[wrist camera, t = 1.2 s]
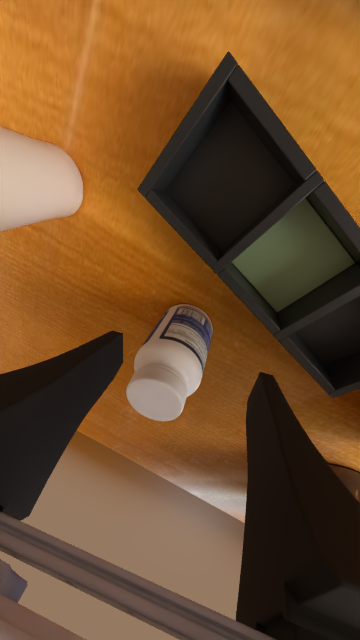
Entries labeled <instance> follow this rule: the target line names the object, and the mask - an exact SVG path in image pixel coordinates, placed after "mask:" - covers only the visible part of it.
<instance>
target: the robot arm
mask: <svg viewBox="0 0 360 640" xmlns="http://www.w3.org/2000/svg"><path fill="white" fill-rule="evenodd" d="M122 363H123V333H120V332H116V331H110V332H108V333H106V334H104V335H102V336H100V337H98V338H96V339H94V340H92V341H90V342H88V343H85V344H83V345H81V346H79V347H77V348H75V349H73V350H70V351H68V352H66V353H63V354H61V355H59V356H56V357H54V358H51V359H48V360H46V361H43V362H40V363H37V364H34V365H31V366H28V367H25V368H21V369H18V370H14V371H11V372H7V373H4V374H0V551H2V552H4V553H6V554H8V555H10V556H12V557H14V558H16V559H19V560H20V561H22V562H24V563H26V564H28V565H30V566H32V567H34V568H36V569H38V570H40V571H42V572H44V573H47V574H49V575H51V576H53V577H55V578H57V579H59V580H61V581H63V582H65V583H67V584H69V585H71V586H73V587H75V588H77V589H79V590H81V591H83V592H85V593H87V594H89V595H91V596H93V597H95V598H97V599H99V600H101V601H103V602H105V603H107V604H109V605H111V606H113V607H115V608H117V609H119V610H121V611H123V612H125V613H127V614H129V615H131V616H133V617H135V618H137V619H139V620H141V621H143V622H145V623H147V624H149V625H151V626H153V627H155V628H157V629H159V630H161V631H164V632H165V633H168V634H169V635H172V636H174V637H176V638H178V639H180V640H360V502H359V501H358V500H357V499H356V498H355V497H354V496H353V494H352V493H351V492H350V491H349V490H348V488H347V487H346V486H345V485H344V484H343V482H342V481H341V480H340V479H339V477H338V476H337V475H336V474H335V473H334V471H333V470H332V469H331V467H330V466H329V465H328V464H327V462H326V461H325V460H324V458H323V457H322V455H321V454H320V453H319V451H318V450H317V449H316V447H315V446H314V444H313V443H312V442H311V440H310V439H309V437H308V436H307V434H306V432H305V431H304V429H303V428H302V426H301V425H300V423H299V421H298V420H297V418H296V416H295V415H294V413H293V411H292V409H291V408H290V406H289V404H288V402H287V400H286V399H285V397H284V395H283V393H282V391H281V389H280V387H279V385H278V383H277V382H276V380H275V378H274V376H273V375H270V374H266V373H263V372H260V373H259V376H258V378H257V380H256V382H255V385H254V387H253V389H252V391H251V394H250V396H249V398H248V402H247V413H246V437H247V463H248V482H247V500H246V515H245V531H244V541H243V554H242V565H241V574H240V584H239V593H238V602H237V611H236V621H235V620H233V619H230V618H229V617H226V616H224V615H222V614H220V613H218V612H216V611H213V610H211V609H209V608H207V607H205V606H202V605H200V604H198V603H196V602H194V601H192V600H190V599H187V598H185V597H183V596H181V595H179V594H177V593H174V592H172V591H170V590H168V589H166V588H163V587H162V586H159V585H157V584H155V583H153V582H151V581H149V580H146V579H144V578H142V577H140V576H138V575H136V574H133V573H131V572H129V571H127V570H125V569H123V568H120V567H118V566H116V565H114V564H112V563H110V562H107V561H105V560H103V559H101V558H99V557H97V556H94V555H92V554H90V553H88V552H86V551H84V550H82V549H79V548H77V547H75V546H72V545H71V544H69V543H66V542H64V541H62V540H60V539H58V538H56V537H54V536H51V535H49V534H47V533H45V532H43V531H41V530H38V529H36V528H34V527H32V526H30V525H27V524H25V523H23V522H21V521H20V520H23V519H24V518H26V517H28V516H29V515H30V513H31V511H32V509H33V507H34V505H35V503H36V501H37V500H38V497H39V496H40V494H41V492H42V490H43V488H44V486H45V484H46V482H47V480H48V478H49V477H50V475H51V473H52V471H53V469H54V468H55V466H56V464H57V462H58V461H59V459H60V457H61V455H62V454H63V452H64V450H65V448H66V447H67V445H68V443H69V442H70V440H71V438H72V437H73V435H74V433H75V432H76V430H77V429H78V427H79V425H80V424H81V422H82V421H83V419H84V418H85V416H86V415H87V413H88V412H89V411H90V409H91V408H92V407H93V405H94V404H95V403H96V401H97V400H98V399H99V397H100V396H101V395H102V394H103V392H104V391H105V390H106V388H107V387H108V386H109V384H110V383H111V382H112V380H113V379H114V377H115V376H116V374H117V372H118V371H119V369H120V367H121V365H122ZM26 587H27V581H26V580H24V579H23V578H22V577H20V576H19V575H18V574H17V573H16V572H14V571H13V570H12V569H11V566H10V565H9V564H7V563H5V562H4V561H2V560H0V640H86V639H84V638H82V637H80V636H79V635H77V634H75V633H73V632H71V631H69V630H67V629H65V628H64V627H62V626H60V625H58V624H56V623H54V622H52V621H50V620H49V619H47V618H45V617H43V616H41V615H39V614H37V613H35V612H33V611H31V610H30V609H28V608H26V607H24V606H22V605H20V604H18V601H19V599H20V598H21V596H22V594H23V592H24V590H25V589H26Z"/></svg>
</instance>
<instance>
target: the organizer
mask: <svg viewBox="0 0 360 640" xmlns="http://www.w3.org/2000/svg"><path fill="white" fill-rule="evenodd" d="M138 191H139V192H140V193H141V194H142V195H143V196H144V197H145V198H146V199H147V200H148V201H149V203H150V204H151V205H152V206H153V207H154V208H155V209H156V210H157V211H158V212H159V213H160V214H161V215H162V216H163V218H164V219H165V220H166V221H167V222H168V223H169V224H170V225H171V226H172V227H173V228H174V229H175V230H176V231H177V233H178V234H179V235H180V236H181V237H182V238H183V239H184V240H185V241H186V242H187V243H188V244H189V245H190V247H191V248H192V249H193V250H194V251H195V252H196V253H197V254H198V255H199V256H200V257H201V258H202V259H203V260H204V262H205V263H206V264H207V265H208V266H209V267H211V269H212V270H213V271H214V272H215V273H216V274H218V276H219V277H220V279H221V280H222V281H223V282H224V283H225V284H226V285H227V286H228V287H229V288H230V289H231V290H232V291H233V292H234V294H235V295H236V296H237V297H238V298H239V299H240V300H241V301H242V302H243V303H244V304H245V305H246V306H247V307H248V309H249V310H250V311H251V312H252V313H253V314H254V315H255V316H256V317H257V318H258V319H259V320H260V321H261V322H262V324H263V325H264V326H265V327H266V328H267V329H268V330H269V331H270V332H271V333H272V334H273V335H274V337H275V338H276V339H277V340H278V341H279V342H280V343H281V344H282V345H283V346H284V347H285V348H286V349H287V351H288V352H289V353H290V354H291V355H292V356H293V357H294V358H295V359H296V360H297V361H298V362H299V363H300V364H301V366H302V367H303V368H304V369H305V370H306V371H307V372H308V373H309V374H310V375H311V376H312V377H313V378H314V379H315V381H316V382H317V383H318V384H319V385H320V386H321V387H322V388H323V389H324V390H325V391H326V392H327V393H328V394H329V395H330V396H331V398H335V397H338V396H341V395H343V394H346V393H349V392H352V391H355V390H357V389H360V227H359V226H358V225H357V223H356V222H355V221H354V219H353V218H352V217H351V215H350V214H349V213H348V211H347V210H346V209H345V207H344V206H343V205H342V203H341V202H340V200H339V199H338V198H337V196H336V195H335V194H334V192H333V191H332V190H331V188H330V187H329V186H328V184H327V183H326V182H325V181H324V179H323V178H322V176H321V175H320V174H319V172H318V171H316V168H315V167H314V165H313V164H312V163H311V161H310V160H309V159H308V157H307V156H306V155H305V153H304V152H303V151H302V149H301V148H300V147H299V145H298V144H297V143H296V141H295V140H294V138H293V137H292V136H291V134H290V133H289V132H288V130H287V129H286V128H285V126H284V125H283V124H282V122H281V121H280V120H279V118H278V117H277V116H276V114H275V113H274V112H273V110H272V109H271V107H270V106H269V105H268V103H267V102H266V101H265V99H264V98H263V97H262V95H261V94H260V93H259V91H258V90H257V89H256V87H255V86H254V85H253V83H252V82H251V81H250V79H249V78H248V76H247V75H246V74H245V72H244V71H243V70H242V68H241V67H240V66H239V65H238V63H237V61H236V60H235V59H234V57H233V56H232V55H231V53H230V52H229V51H228V52H227V54H226V55H225V57H224V58H223V60H222V61H221V63H220V64H219V66H218V67H217V69H216V70H215V72H214V74H213V75H212V77H211V78H210V80H209V81H208V83H207V84H206V86H205V87H204V89H203V90H202V92H201V93H200V95H199V96H198V98H197V99H196V101H195V102H194V104H193V105H192V107H191V108H190V110H189V111H188V113H187V115H186V116H185V118H184V119H183V121H182V122H181V124H180V125H179V127H178V128H177V130H176V131H175V133H174V134H173V136H172V137H171V139H170V140H169V142H168V143H167V145H166V146H165V148H164V149H163V151H162V152H161V154H160V156H159V157H158V159H157V160H156V162H155V163H154V165H153V166H152V168H151V169H150V171H149V172H148V174H147V175H146V177H145V178H144V180H143V181H142V183H141V184H140V186H139V187H138Z"/></svg>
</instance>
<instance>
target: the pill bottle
mask: <svg viewBox="0 0 360 640" xmlns="http://www.w3.org/2000/svg"><path fill="white" fill-rule="evenodd" d="M212 334H213V327H212V323H211V320H210V319H209V317H208V316H207V314H206V313H205V312H204V311H202V310H201V309H199V308H198V307H196V306H193V305H189V304H179V305H175V306H173V307H171V308H170V309H168V310H167V311H166V312H165V313H164V315H163V316H162V317H161V319H160V320H159V322H158V323H157V325H156V326H155V327H154V329H153V330H152V332H151V333H150V335H149V336H148V338H147V339H146V340H145V342H144V343H143V345H142V346H141V348H140V349H139V351H138V352H137V354H136V356H135V360H134V371H135V374H134V375H133V377H132V379H131V381H130V382H129V384H128V386H127V389H126V396H127V399H128V401H129V403H130V404H131V406H132V407H133V408H134V409H135V410H136V411H137V412H139V413H140V414H141V415H143V416H145V417H147V418H150V419H152V420H156V421H170V420H173V419H175V418H177V417H178V416H179V415H180V414H181V413H182V410H183V408H184V404H185V401H186V398H187V397H188V396H190V395H191V394H193V393H194V392H195V391H196V390H197V388H198V387H199V385H200V382H201V379H202V376H203V372H204V367H205V363H206V359H207V355H208V351H209V347H210V343H211V339H212Z"/></svg>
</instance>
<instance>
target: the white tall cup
mask: <svg viewBox="0 0 360 640" xmlns="http://www.w3.org/2000/svg"><path fill="white" fill-rule="evenodd" d="M83 194H84V188H83V181H82V177H81V174H80V171H79V169H78V167H77V165H76V163H75V162H74V160H73V159H72V158H71V157H70V155H69V154H68V153H67V152H66V151H64V150H63V149H62V148H60V147H59V146H57V145H55V144H53V143H50V142H46V141H43V140H39V139H35V138H32V137H29V136H27V135H24V134H21V133H19V132H16V131H13V130H11V129H8V128H5V127H3V126H0V232H4V231H8V230H12V229H15V228H19V227H23V226H27V225H31V224H35V223H39V222H43V221H47V220H51V219H58V218H65V217H69V216H71V215H73V214H74V213H75V212H76V211H77V210H78V209H79V208H80V206H81V203H82V200H83Z"/></svg>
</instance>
